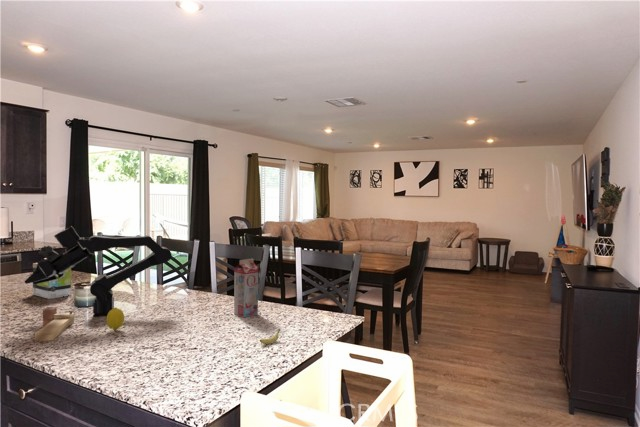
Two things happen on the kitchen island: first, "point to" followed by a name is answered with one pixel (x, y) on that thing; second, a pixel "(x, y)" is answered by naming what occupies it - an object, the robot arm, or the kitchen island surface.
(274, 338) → the banana
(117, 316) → the lemon
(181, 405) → the kitchen island surface
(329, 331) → the kitchen island surface
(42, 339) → the plank
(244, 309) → the juice carton
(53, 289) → the tea box
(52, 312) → the chocolate colored brick
